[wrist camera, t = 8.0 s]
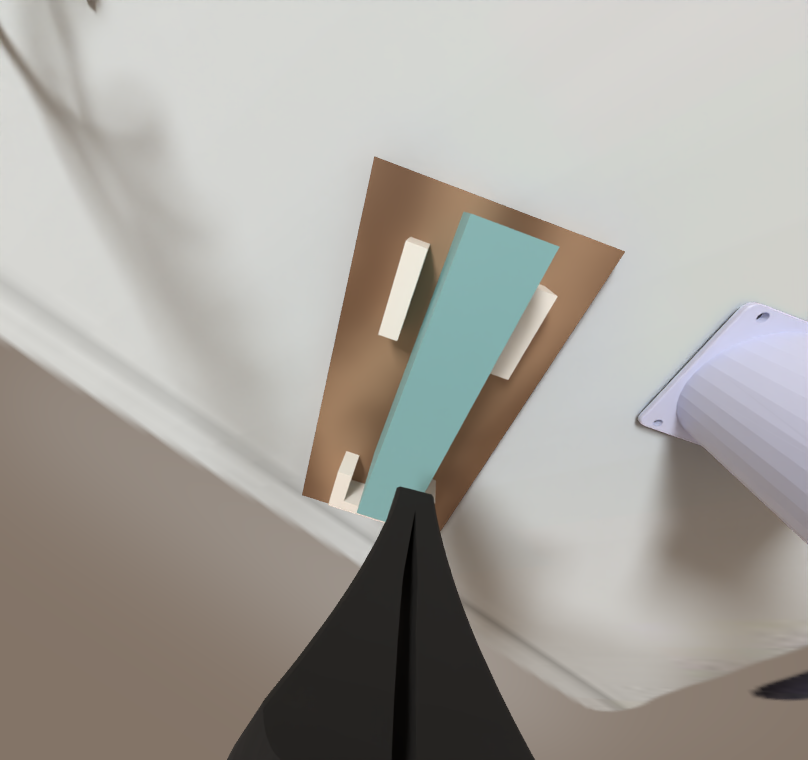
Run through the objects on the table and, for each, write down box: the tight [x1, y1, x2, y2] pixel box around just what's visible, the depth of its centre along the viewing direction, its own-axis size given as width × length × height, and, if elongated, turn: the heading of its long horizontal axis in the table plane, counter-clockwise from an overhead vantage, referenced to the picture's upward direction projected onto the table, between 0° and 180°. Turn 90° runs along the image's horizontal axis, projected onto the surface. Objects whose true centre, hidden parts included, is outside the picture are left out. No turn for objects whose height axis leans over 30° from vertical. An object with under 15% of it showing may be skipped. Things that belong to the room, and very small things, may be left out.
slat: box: [357, 212, 559, 522], centre depth 16 cm, size 3×16×5 cm, turn 162°
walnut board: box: [302, 156, 625, 531], centre depth 20 cm, size 12×24×1 cm, turn 162°
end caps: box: [328, 237, 558, 523], centre depth 18 cm, size 7×19×2 cm, turn 162°
